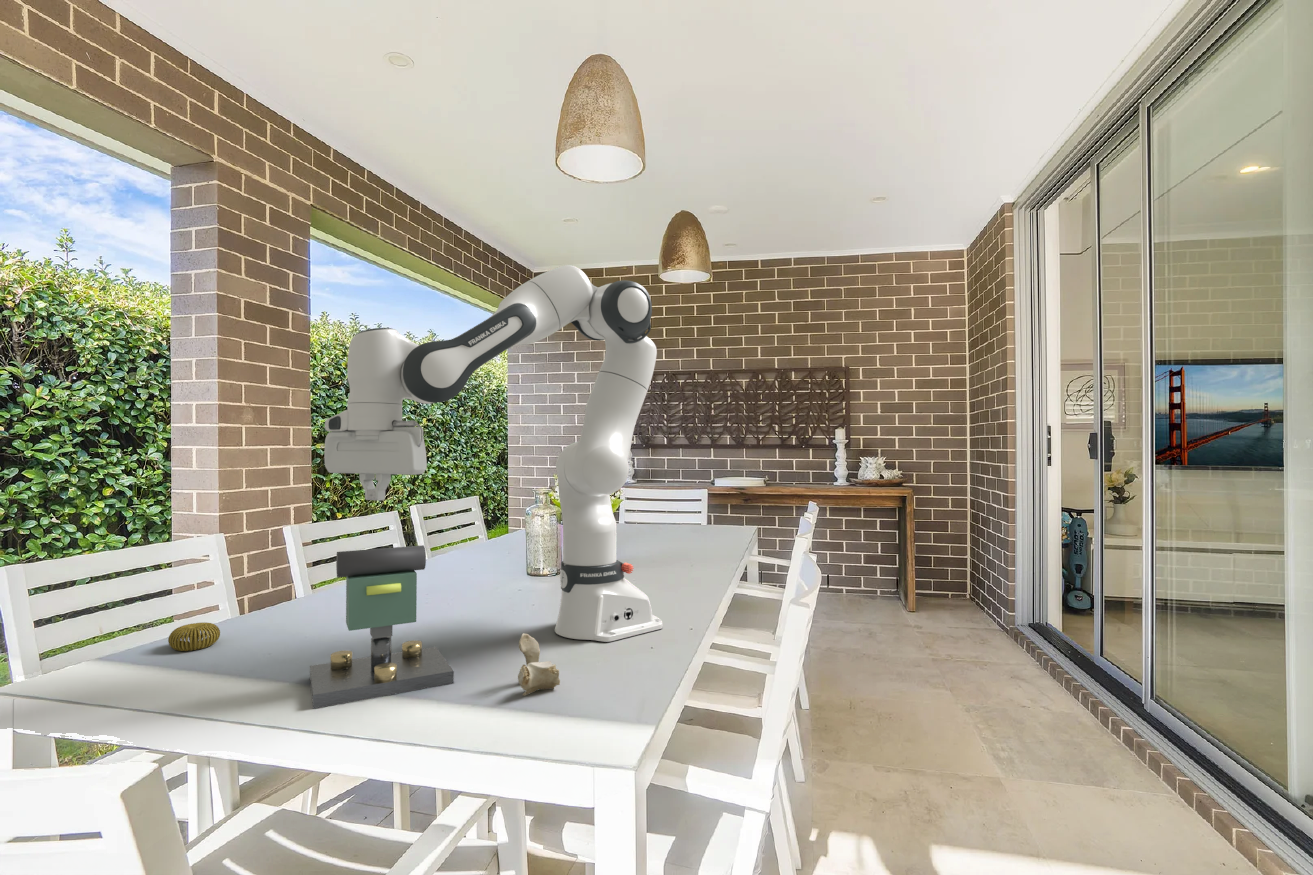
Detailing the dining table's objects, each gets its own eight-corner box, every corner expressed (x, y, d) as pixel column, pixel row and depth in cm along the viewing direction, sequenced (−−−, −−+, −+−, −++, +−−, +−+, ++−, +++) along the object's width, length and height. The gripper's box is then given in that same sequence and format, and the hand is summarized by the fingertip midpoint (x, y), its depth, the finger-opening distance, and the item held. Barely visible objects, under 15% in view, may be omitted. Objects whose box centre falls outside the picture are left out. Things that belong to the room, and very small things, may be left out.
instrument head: (420, 624, 110) (420, 543, 110) (426, 634, 105) (427, 548, 105) (335, 635, 104) (336, 549, 104) (338, 647, 98) (338, 555, 98)
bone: (559, 691, 96) (526, 632, 98) (522, 712, 97) (490, 653, 98) (572, 674, 105) (542, 620, 106) (538, 694, 105) (509, 640, 106)
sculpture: (178, 621, 125) (226, 618, 127) (178, 642, 125) (226, 638, 127) (160, 633, 117) (211, 629, 119) (160, 655, 117) (211, 651, 119)
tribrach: (435, 657, 116) (436, 618, 116) (453, 683, 104) (453, 639, 104) (309, 677, 106) (310, 635, 106) (313, 708, 94) (313, 660, 94)
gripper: (435, 420, 112) (435, 500, 112) (346, 422, 119) (346, 496, 119) (408, 419, 106) (408, 503, 106) (317, 421, 113) (317, 499, 113)
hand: (375, 500), depth 113 cm, fingers closed
